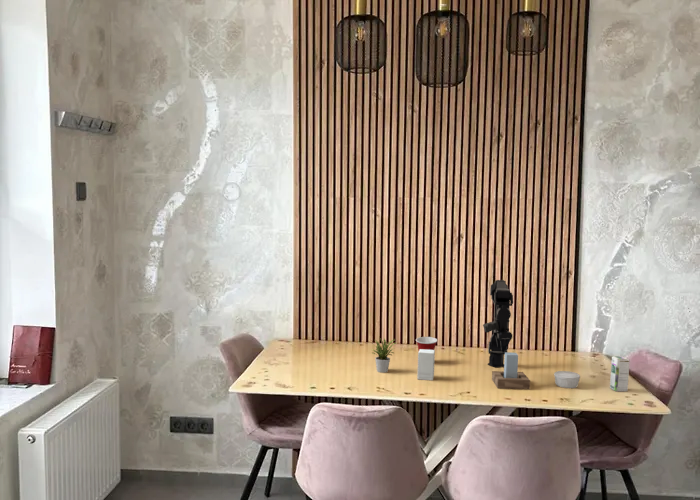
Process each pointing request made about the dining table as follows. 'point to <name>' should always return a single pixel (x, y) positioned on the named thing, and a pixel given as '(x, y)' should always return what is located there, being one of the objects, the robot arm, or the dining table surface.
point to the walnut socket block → (510, 381)
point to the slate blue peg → (510, 365)
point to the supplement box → (426, 364)
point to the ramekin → (566, 379)
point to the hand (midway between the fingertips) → (500, 349)
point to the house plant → (383, 356)
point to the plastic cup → (426, 343)
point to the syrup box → (619, 373)
